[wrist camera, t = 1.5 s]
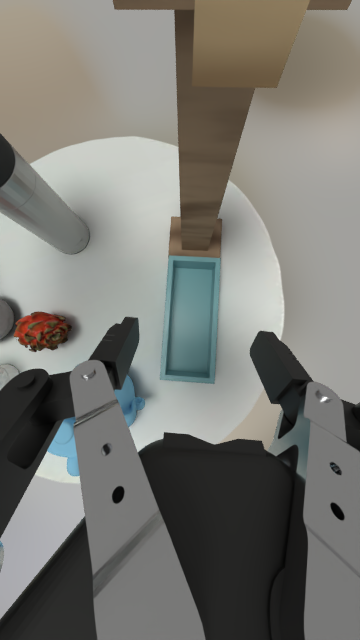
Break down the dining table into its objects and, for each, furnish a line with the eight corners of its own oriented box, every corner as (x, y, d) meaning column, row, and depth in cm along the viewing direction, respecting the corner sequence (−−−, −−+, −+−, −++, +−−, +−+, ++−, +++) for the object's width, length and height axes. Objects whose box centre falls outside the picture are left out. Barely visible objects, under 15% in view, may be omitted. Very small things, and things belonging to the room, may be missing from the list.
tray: (210, 376, 36) (214, 383, 31) (163, 372, 36) (159, 379, 31) (215, 267, 38) (220, 258, 33) (170, 265, 38) (168, 255, 33)
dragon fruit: (87, 333, 39) (47, 334, 41) (70, 302, 35) (26, 306, 37) (61, 358, 32) (15, 358, 34) (36, 324, 28) (-16, 326, 30)
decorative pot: (114, 346, 37) (73, 355, 24) (155, 400, 36) (137, 442, 22) (60, 389, 37) (-13, 423, 23) (99, 446, 36) (47, 516, 22)
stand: (218, 263, 38) (402, -99, 6) (169, 261, 38) (92, -93, 6) (220, 224, 38) (395, -293, 7) (171, 222, 39) (115, -276, 7)
